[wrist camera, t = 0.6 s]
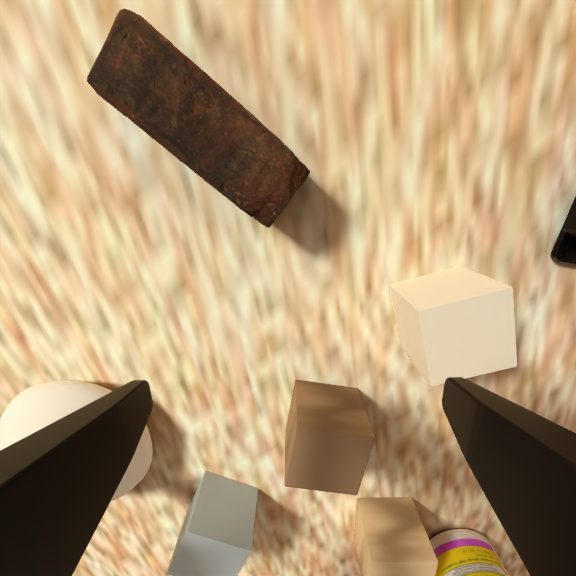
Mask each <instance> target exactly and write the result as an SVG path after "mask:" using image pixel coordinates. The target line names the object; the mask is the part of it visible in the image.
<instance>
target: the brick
mask: <svg viewBox="0 0 576 576" xmlns="http://www.w3.org/2000/svg"><path fill="white" fill-rule="evenodd" d="M87 82H88V83H89V84H90V85H91V86H92V87H93V89H94V90H95V91H96V93H97V94H98V95H100V96H101V97H102V98H103V99H104V100H106V101H107V102H108V103H109V104H111V105H112V106H113V107H114V108H116V109H117V110H118V111H119V112H121V113H122V114H123V115H124V116H126V117H128V118H129V119H130V120H131V121H132V122H133V123H135V124H136V125H137V126H139V127H140V128H141V129H142V130H143V131H145V132H146V133H147V134H148V135H149V136H151V137H152V138H153V139H154V140H156V141H157V142H158V143H159V144H161V145H162V146H163V147H164V148H166V149H167V150H168V151H169V152H170V153H172V154H173V155H174V156H175V157H176V158H178V159H179V160H180V161H181V162H183V163H184V164H186V165H187V166H188V167H189V168H190V169H191V170H193V171H194V172H195V173H196V174H198V175H199V176H200V177H202V178H203V179H204V180H205V181H206V182H207V183H209V184H210V185H211V186H213V187H214V188H215V189H217V190H218V191H219V192H220V193H221V194H222V195H224V196H225V197H227V198H228V199H229V200H230V201H232V202H233V203H234V204H235V205H236V206H238V207H239V208H240V209H241V210H243V211H244V212H246V213H247V214H248V215H250V216H251V217H254V218H255V219H256V220H257V221H259V222H260V223H261V224H263V225H265V226H266V227H270V226H271V225H272V223H273V222H274V221H275V219H276V218H277V216H278V215H279V214H280V213H281V212H282V210H283V209H284V208H285V207H286V205H287V204H288V202H289V201H290V199H291V197H292V196H293V195H294V193H295V192H296V191H297V190H298V188H299V187H300V186H301V185H302V183H303V182H304V181H305V179H306V178H307V176H308V175H309V173H310V171H309V170H308V168H307V167H306V166H305V165H304V164H303V163H301V162H300V161H299V160H298V158H297V157H296V156H295V155H294V153H293V152H292V151H291V150H290V149H289V148H288V147H287V146H286V145H284V143H283V142H282V141H281V140H280V139H279V138H278V137H277V136H275V135H274V134H273V133H272V132H271V131H270V130H268V129H267V128H266V127H265V126H264V125H263V124H262V123H261V122H260V121H259V120H258V119H257V118H256V117H255V116H254V115H253V114H251V113H250V112H249V111H248V110H246V109H245V108H244V107H243V106H242V105H241V104H240V103H239V102H237V101H236V100H235V99H234V98H233V97H232V96H231V95H229V94H228V93H227V92H226V91H225V90H224V89H223V88H222V87H221V86H220V85H219V84H217V83H216V82H215V81H214V80H213V79H212V78H211V77H210V76H209V75H207V74H206V73H205V72H204V71H203V70H201V69H200V68H199V67H198V66H197V65H196V64H195V63H193V62H192V61H191V60H190V59H189V58H188V57H187V56H185V55H184V54H183V53H182V52H180V51H179V50H178V49H177V48H176V47H175V46H174V45H173V44H172V43H171V42H170V41H169V40H168V39H167V38H165V37H164V36H163V35H162V34H161V33H159V32H158V31H157V30H156V29H155V28H154V27H153V26H152V25H151V24H150V23H148V22H147V21H146V20H145V19H144V18H142V17H141V16H140V15H137V14H136V13H134V12H132V11H130V10H126V9H122V10H120V11H119V13H118V14H117V17H116V19H115V21H114V23H113V26H112V28H111V30H110V32H109V34H108V37H107V39H106V41H105V43H104V45H103V47H102V49H101V51H100V53H99V55H98V57H97V59H96V61H95V63H94V65H93V67H92V69H91V71H90V73H89V75H88V77H87Z"/></svg>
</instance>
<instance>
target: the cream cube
mask: <svg viewBox="0 0 576 576" xmlns="http://www.w3.org/2000/svg"><path fill="white" fill-rule="evenodd" d="M389 289H390V294H391V300H392V305H393V310H394V315H395V321H396V326H397V331H398V337H399V342H400V346H401V348H402V349H403V350H404V352H405V353H406V354H407V356H408V357H409V358H410V360H411V361H412V362H413V364H414V365H415V366H416V368H417V369H418V370H419V372H420V373H421V375H422V376H423V377H424V379H425V380H426V381H427V383H428V384H429V385H430V387H431V386H435V385H439V384H444V383H445V380H446V379H447V378H448V377H462V378H464V379H465V378H470V377H474V376H478V375H483V374H487V373H491V372H496V371H500V370H504V369H509V368H513V367H517V355H516V337H515V319H514V302H513V287H511V286H509V285H506V284H504V283H501V282H499V281H496V280H494V279H492V278H489V277H487V276H484V275H482V274H479V273H477V272H474V271H472V270H470V269H467V268H465V267H462V266H458V267H454V268H450V269H447V270H443V271H439V272H435V273H431V274H428V275H424V276H420V277H416V278H413V279H409V280H405V281H401V282H397V283H394V284H390V285H389Z"/></svg>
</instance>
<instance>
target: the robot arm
mask: <svg viewBox="0 0 576 576" xmlns="http://www.w3.org/2000/svg"><path fill="white" fill-rule="evenodd" d="M562 251H563V253H562V255H561V256H560V253H561V252H562ZM551 257H552V259H554V260H557V261H561V262H567V263H573V264H576V197H575V199H574V202H573V204H572V206H571V208H570V211H569V213H568V215H567V218H566V220H565V222H564V225H563V227H562V229H561V231H560V234H559V236H558V238H557V241H556V243H555V245H554V247H553V250H552V252H551ZM442 406H443V409H444V412H445V414H446V416H447V418H448V421H449V423H450V425H451V428H452V430H453V432H454V435H455V437H456V439H457V441H458V444H459V446H460V448H461V451H462V453H463V455H464V457H465V459H466V461H467V463H468V465H469V467H470V468H471V470H472V472H473V474H474V476H475V477H476V479H477V481H478V483H479V484H480V486H481V488H482V490H483V492H484V493H485V495H486V497H487V499H488V501H489V502H490V504H491V506H492V508H493V510H494V511H495V513H496V515H497V517H498V518H499V520H500V522H501V524H502V526H503V527H504V529H505V531H506V533H507V535H508V536H509V538H510V540H511V542H512V544H513V545H514V547H515V549H516V551H517V552H518V554H519V556H520V558H521V560H522V561H523V563H524V565H525V567H526V569H527V570H528V572H529V574H530V576H576V433H574V432H572V431H570V430H568V429H566V428H564V427H562V426H560V425H558V424H556V423H554V422H552V421H549V420H547V419H545V418H543V417H541V416H539V415H537V414H535V413H533V412H531V411H529V410H527V409H525V408H523V407H521V406H519V405H517V404H515V403H513V402H511V401H509V400H507V399H505V398H503V397H501V396H499V395H497V394H495V393H493V392H491V391H489V390H487V389H485V388H483V387H481V386H479V385H477V384H475V383H473V382H471V381H469V380H466V379H464V378H462V377H448V378H447V379H446V380H445V384H444V391H443V397H442ZM152 407H153V402H152V397H151V392H150V387H149V383H148V382H147V381H146V380H134V381H131V382H129V383H127V384H125V385H124V386H122V387H120V388H118V389H116V390H114V391H112V392H110V393H108V394H106V395H105V396H103V397H101V398H99V399H97V400H95V401H93V402H91V403H89V404H87V405H86V406H84V407H82V408H80V409H78V410H76V411H74V412H72V413H70V414H69V415H67V416H65V417H63V418H61V419H59V420H57V421H55V422H53V423H51V424H50V425H48V426H46V427H44V428H42V429H40V430H38V431H36V432H34V433H33V434H31V435H29V436H27V437H25V438H23V439H21V440H19V441H17V442H15V443H14V444H12V445H10V446H8V447H6V448H4V449H2V450H0V576H72V574H73V572H74V571H75V569H76V567H77V565H78V563H79V561H80V559H81V557H82V555H83V553H84V551H85V549H86V547H87V546H88V544H89V542H90V540H91V538H92V536H93V534H94V532H95V530H96V528H97V526H98V524H99V522H100V520H101V519H102V517H103V515H104V513H105V511H106V509H107V507H108V505H109V503H110V501H111V499H112V497H113V495H114V494H115V492H116V490H117V488H118V486H119V484H120V482H121V480H122V478H123V476H124V474H125V472H126V470H127V469H128V466H129V464H130V462H131V460H132V458H133V456H134V454H135V451H136V449H137V446H138V444H139V441H140V439H141V436H142V434H143V431H144V429H145V426H146V424H147V421H148V419H149V417H150V414H151V411H152Z"/></svg>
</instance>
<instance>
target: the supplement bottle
mask: <svg viewBox="0 0 576 576" xmlns="http://www.w3.org/2000/svg"><path fill="white" fill-rule="evenodd" d="M429 541H430V543H431V546H432V548H433V550H434V553H435V555H436V558H437V560H438V565H437V570H436V575H435V576H509V575H508V573H507V571H506V569H505V568H504V566H503V564H502V562H501V561H500V559H499V557H498V556H497V554H496V552H495V551H494V549H493V547H492V545H491V544H490V542H489V541H488V540H487V539H486V538H485V537H484V536H483V535H481V534H480V533H478V532H475V531H473V530H469V529H452V530H448V531H444V532H442V533H440V534H438V535H436V536H434V537H433V538H432V539H430V540H429Z"/></svg>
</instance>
